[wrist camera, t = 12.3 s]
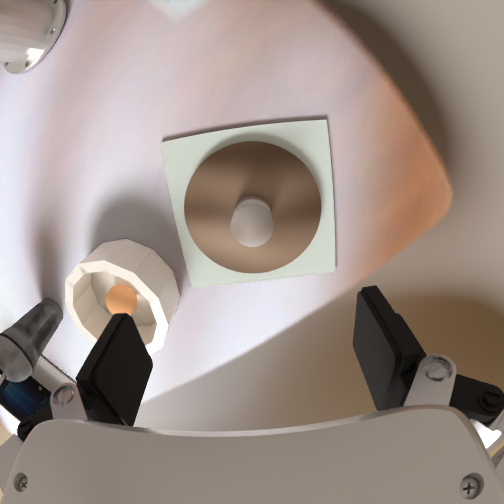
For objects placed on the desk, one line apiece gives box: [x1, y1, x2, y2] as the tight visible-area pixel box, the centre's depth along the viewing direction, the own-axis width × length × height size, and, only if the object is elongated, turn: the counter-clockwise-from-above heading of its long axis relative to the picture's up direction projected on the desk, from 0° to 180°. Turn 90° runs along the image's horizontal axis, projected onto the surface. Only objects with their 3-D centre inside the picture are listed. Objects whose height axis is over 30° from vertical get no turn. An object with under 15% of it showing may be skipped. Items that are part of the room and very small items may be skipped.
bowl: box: [65, 239, 180, 355], centre depth 31 cm, size 13×13×6 cm
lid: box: [184, 141, 321, 274], centre depth 26 cm, size 14×14×6 cm
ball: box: [106, 284, 137, 315], centre depth 31 cm, size 4×4×4 cm
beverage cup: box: [0, 298, 63, 385], centre depth 27 cm, size 7×7×20 cm
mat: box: [160, 120, 335, 288], centre depth 29 cm, size 17×17×1 cm
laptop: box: [0, 355, 77, 422], centre depth 38 cm, size 18×12×13 cm
